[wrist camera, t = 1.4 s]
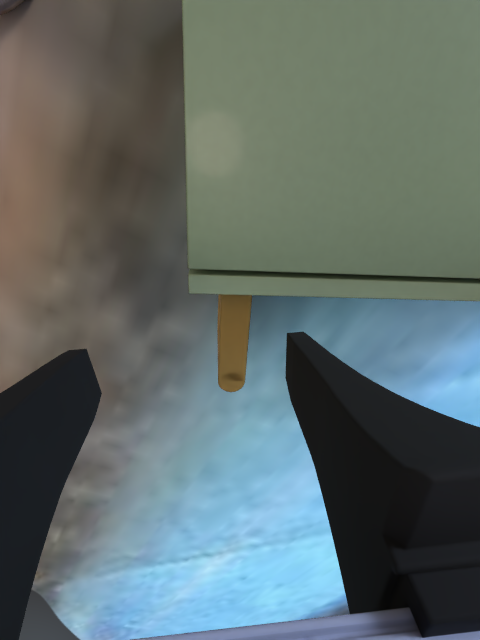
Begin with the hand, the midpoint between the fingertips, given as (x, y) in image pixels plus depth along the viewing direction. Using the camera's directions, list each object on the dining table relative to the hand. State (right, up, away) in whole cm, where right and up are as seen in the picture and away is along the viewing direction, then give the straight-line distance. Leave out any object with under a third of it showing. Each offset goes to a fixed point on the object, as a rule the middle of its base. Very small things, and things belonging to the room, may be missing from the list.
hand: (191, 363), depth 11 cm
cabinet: (+7, +12, +6) cm, 15 cm away
